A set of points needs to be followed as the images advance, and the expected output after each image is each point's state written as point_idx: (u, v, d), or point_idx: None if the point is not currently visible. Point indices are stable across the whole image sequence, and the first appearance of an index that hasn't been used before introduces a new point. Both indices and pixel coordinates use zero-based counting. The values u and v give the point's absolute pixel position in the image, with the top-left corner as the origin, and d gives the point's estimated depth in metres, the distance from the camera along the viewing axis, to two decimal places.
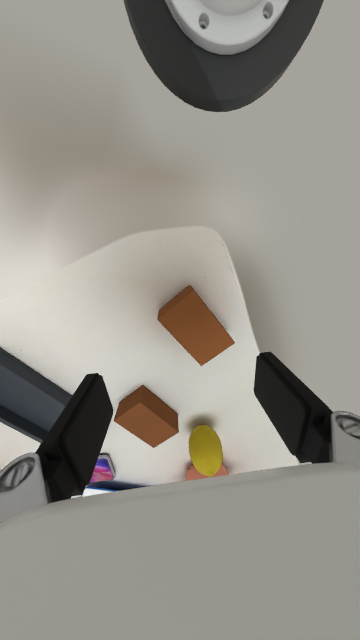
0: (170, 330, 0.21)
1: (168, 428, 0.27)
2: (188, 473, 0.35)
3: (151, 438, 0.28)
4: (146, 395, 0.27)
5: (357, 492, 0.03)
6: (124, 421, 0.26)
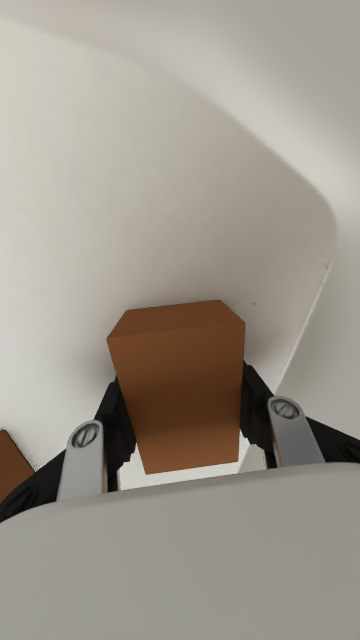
0: (124, 381, 0.07)
1: None
2: None
3: None
4: None
5: (357, 492, 0.03)
6: None
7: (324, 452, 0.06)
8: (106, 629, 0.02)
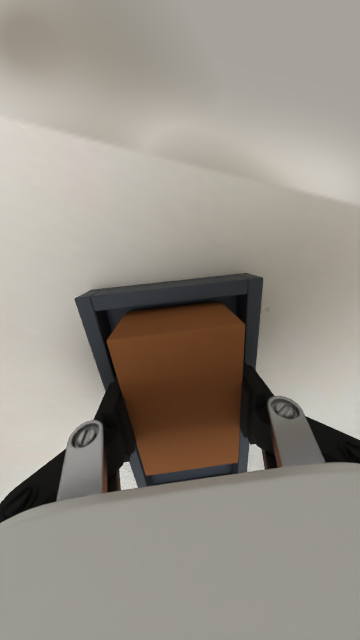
0: (124, 382, 0.07)
1: None
2: None
3: None
4: None
5: (357, 492, 0.03)
6: None
7: (324, 452, 0.06)
8: (106, 629, 0.02)
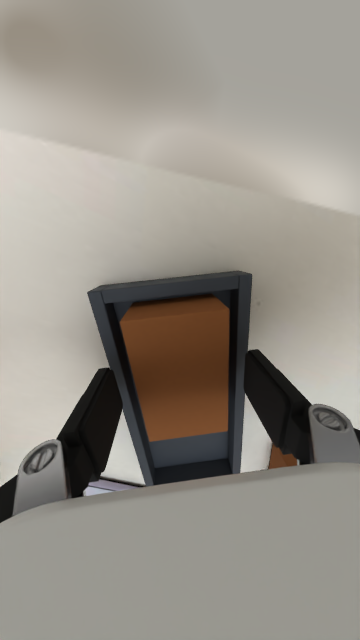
0: (133, 357, 0.09)
1: None
2: None
3: None
4: None
5: (357, 492, 0.03)
6: None
7: None
8: (106, 629, 0.02)
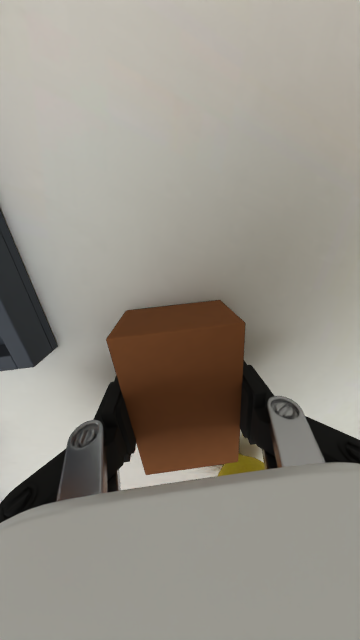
0: None
1: (230, 442, 0.09)
2: None
3: (164, 449, 0.09)
4: None
5: (357, 492, 0.03)
6: (139, 362, 0.07)
7: (324, 452, 0.06)
8: (106, 629, 0.02)
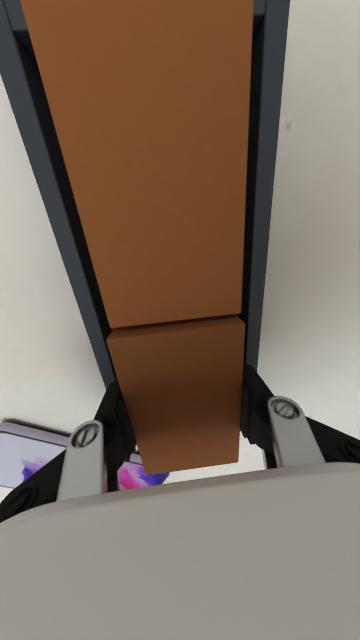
0: (54, 88, 0.04)
1: (230, 443, 0.09)
2: None
3: (164, 450, 0.09)
4: None
5: (357, 492, 0.03)
6: (139, 362, 0.07)
7: (324, 452, 0.06)
8: (106, 629, 0.02)
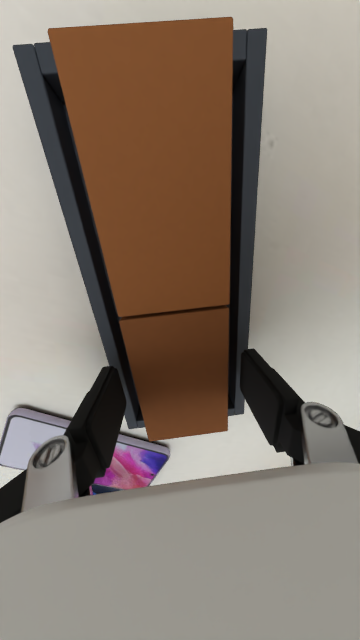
0: (78, 125, 0.06)
1: (220, 412, 0.11)
2: None
3: (165, 418, 0.11)
4: None
5: (357, 492, 0.03)
6: (145, 340, 0.09)
7: None
8: (106, 629, 0.02)
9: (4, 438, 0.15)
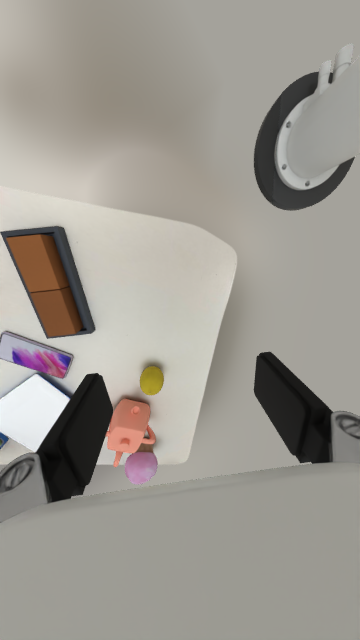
0: (13, 251, 0.28)
1: (70, 325, 0.34)
2: (122, 400, 0.44)
3: (51, 327, 0.34)
4: (67, 293, 0.33)
5: (357, 492, 0.03)
6: (38, 299, 0.31)
7: None
8: (106, 629, 0.02)
9: None
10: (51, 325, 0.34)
